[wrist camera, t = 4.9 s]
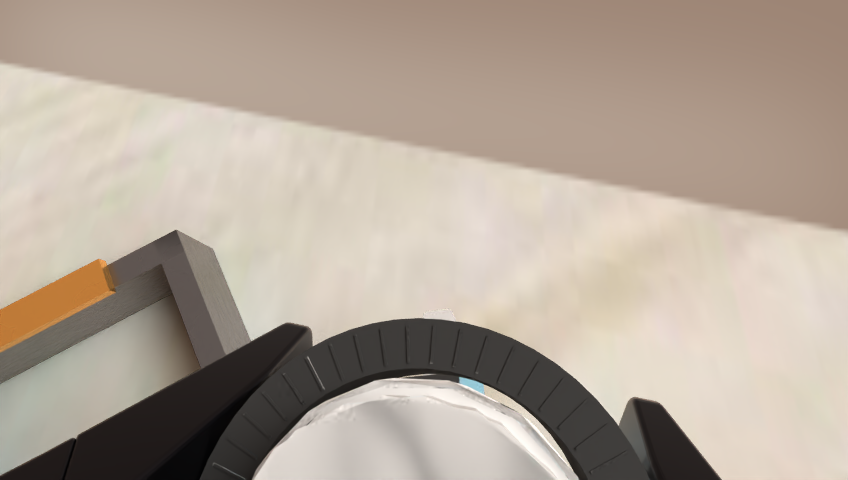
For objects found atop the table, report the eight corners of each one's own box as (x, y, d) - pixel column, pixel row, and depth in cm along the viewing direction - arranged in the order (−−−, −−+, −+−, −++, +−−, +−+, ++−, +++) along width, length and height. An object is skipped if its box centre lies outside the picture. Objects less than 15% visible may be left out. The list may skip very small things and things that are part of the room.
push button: (355, 328, 16) (140, 219, 6) (537, 306, 15) (612, 151, 6) (371, 587, 14) (89, 1026, 4) (582, 572, 13) (814, 1028, 4)
